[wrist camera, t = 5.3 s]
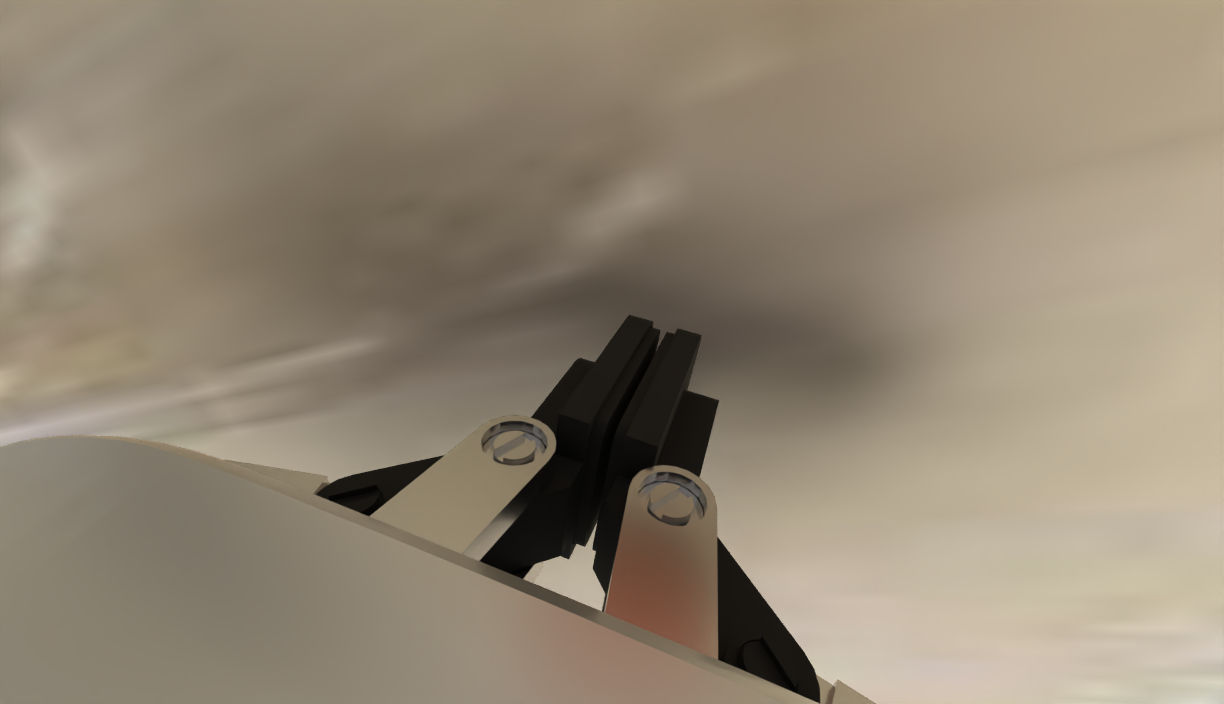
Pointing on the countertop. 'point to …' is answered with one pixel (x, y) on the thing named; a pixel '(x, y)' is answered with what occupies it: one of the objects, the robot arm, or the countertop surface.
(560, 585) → the countertop surface
